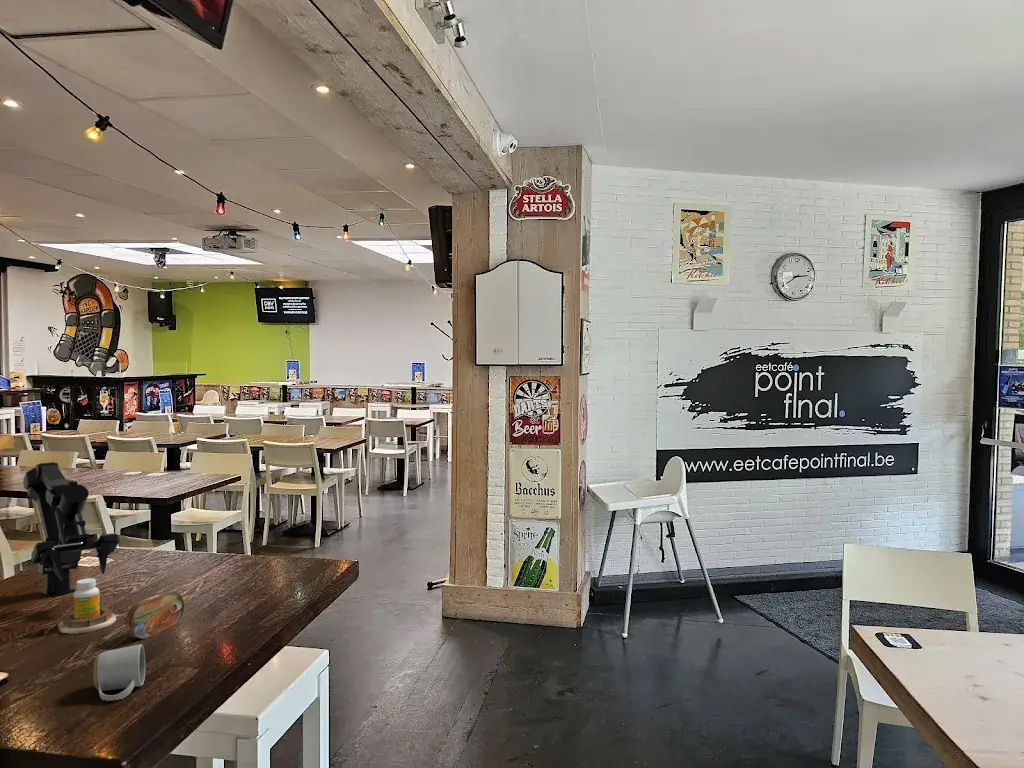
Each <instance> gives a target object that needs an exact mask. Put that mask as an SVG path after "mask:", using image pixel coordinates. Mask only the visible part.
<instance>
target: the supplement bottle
mask: <svg viewBox="0 0 1024 768" xmlns="http://www.w3.org/2000/svg"><path fill="white" fill-rule="evenodd" d="M96 585H97V580H96V578H91V577H89V578H83V579H79V580H76V591H73V612H74V620H83V619H91V618H94V617H98V616H100V607H101V606H100V589H99V588H98V587H97V586H96Z"/></svg>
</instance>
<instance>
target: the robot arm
mask: <svg viewBox="0 0 1024 768" xmlns="http://www.w3.org/2000/svg"><path fill="white" fill-rule="evenodd" d="M59 467H60V466H59V463H58V462H54V461H53V462H52V461H51V462H40V463H38V464H36V465H35V467H33V468H31V469H30V470H28V471H26V472H25V474H24V476H23V481H22V482H23V483H22V485H23V488H24V490H26V492H27V496H28V497H29V498H30V499H31V500H33V501H35V502H36V505H37V509H38V512H39V517H40V522H41V527H42V530H43V531H42V532H43V535H44V541H41V542H40V541H39V542H37V543H35V545H34V547H33V550H32V552H31V563H32V564H34V565H35V564H37V569H38V570H37V571H38V573H39V574H40V575H42V576H44V575H45V589H43V590H41V591H40V594H42V595H45V596H46V597H47V596H48V597H49V598H53V597H56V596H61V595H64V594H68V593H72V592H73V593H74V592H75V591H76V590H77V588H74V587H72V586H71V570H75V569H76V570H77V569H78V568H79V562H80V561H81V557H82V551H87V550H94V549H95V550H96V553H97V555H96V557H97V558H98V561H99V562H98V564H99V569H100V572H101V575H104V574H105V571H106V566H107V562H108V556H110V555H111V553H114V552H115V550H116V548H117V547H118V544H119V542H120V537H119V535H118V534H117V533H115V532H113V533H104V534H100V535H99V538H98V540H92V541H89V538H90V535H89V533H87V531H86V520H84V518H83V514H82V512H83V511H84V510H85V507H86V504H87V500H88V497H89V494H90V493H89V489H87V488H86V487H85V486H84V485H82V484H78V481H75V480H71V479H66V477H65V476H64V474H63V473H62V472H61V470H60V468H59Z"/></svg>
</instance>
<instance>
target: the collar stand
mask: <svg viewBox="0 0 1024 768" xmlns="http://www.w3.org/2000/svg"><path fill="white" fill-rule="evenodd" d="M115 621H117V615H116V613H113V611H112V609H110V608H107V607H105V606H100V616H98V617H94V618H91V619H83V620H74V611H71V612H69V613H67V614H66V615H65V616H64V617H62V621H60V622H59V623H58V631H59V633H62V634H65V633H67V635H68V634H69V635H78V634H79V633H81V634H87V632H88V633H93V632H97V631H101V630H104V629H106V628H108V626H109V627H111V626H113V625H114V624H115V623H116V622H115ZM113 623H114V624H113ZM110 625H111V626H110ZM105 627H106V628H105ZM103 628H104V629H103ZM100 629H101V630H100ZM96 630H97V631H96ZM79 635H80V634H79Z"/></svg>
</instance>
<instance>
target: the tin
mask: <svg viewBox="0 0 1024 768" xmlns="http://www.w3.org/2000/svg"><path fill="white" fill-rule="evenodd" d="M184 609H185V602H184V598H183V596H182V595H181V594H180V593H179V592H177V591H164V592H161V593H158V594H156V595H154V596H150V597H148V598H146V599H142V600H140V601H138V602H136V603H134V604H133V605H132V606H131V607H130V608H129V610H128V611H127V613H126V616H125V629H126V632H127V634H128V635H129V636H130V637H132V638H136V639H142V640H144V639H146V640H147V639H148V637H149V638H151V637H152V636H156V635H157V634H159V633H161V632H164V631H166V630H168V629H170V628H173V627H174V626H176V625H177V624H178V623H179V622H180V620H181V619H182V616H183V614H184Z"/></svg>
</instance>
